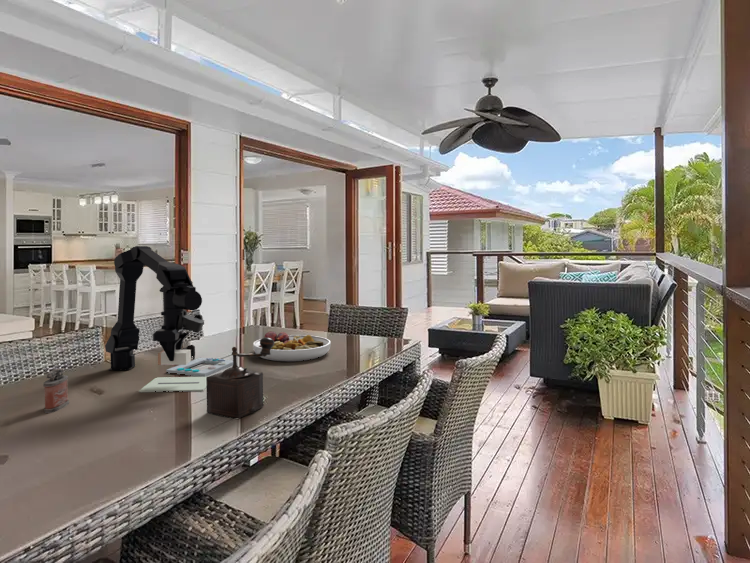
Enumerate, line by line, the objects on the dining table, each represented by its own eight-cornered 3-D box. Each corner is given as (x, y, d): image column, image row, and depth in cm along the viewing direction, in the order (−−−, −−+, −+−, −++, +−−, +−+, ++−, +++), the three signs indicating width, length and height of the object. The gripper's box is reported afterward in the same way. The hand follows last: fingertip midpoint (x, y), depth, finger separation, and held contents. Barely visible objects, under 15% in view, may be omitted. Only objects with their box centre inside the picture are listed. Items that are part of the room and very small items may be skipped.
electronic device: (200, 356, 178) (236, 359, 174) (200, 362, 178) (236, 365, 174) (166, 368, 161) (205, 372, 156) (166, 375, 161) (205, 379, 157)
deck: (186, 364, 145) (185, 353, 144) (158, 365, 144) (157, 353, 144) (190, 360, 150) (190, 349, 149) (163, 361, 149) (163, 349, 149)
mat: (138, 392, 140) (138, 390, 140) (156, 379, 153) (156, 377, 153) (203, 391, 141) (203, 389, 141) (214, 378, 155) (214, 376, 155)
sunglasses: (199, 360, 178) (197, 347, 178) (165, 369, 172) (162, 355, 171) (192, 355, 187) (190, 342, 186) (159, 363, 181) (157, 350, 180)
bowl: (345, 352, 196) (345, 333, 195) (295, 367, 170) (295, 345, 170) (289, 343, 212) (289, 325, 211) (236, 356, 186) (236, 336, 186)
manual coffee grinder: (239, 420, 118) (239, 347, 117) (205, 413, 123) (204, 343, 122) (278, 401, 132) (277, 336, 131) (245, 396, 137) (245, 333, 136)
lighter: (58, 402, 130) (57, 365, 129) (72, 402, 130) (70, 365, 130) (40, 412, 122) (39, 373, 121) (54, 412, 122) (53, 373, 122)
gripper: (192, 311, 137) (193, 366, 138) (208, 303, 156) (209, 351, 157) (151, 312, 136) (152, 366, 137) (173, 303, 155) (174, 352, 156)
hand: (174, 358), depth 147 cm, fingers closed on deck, 5 cm apart
